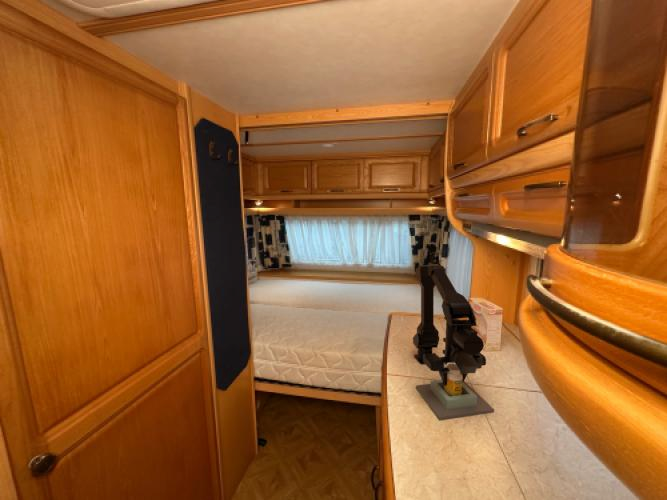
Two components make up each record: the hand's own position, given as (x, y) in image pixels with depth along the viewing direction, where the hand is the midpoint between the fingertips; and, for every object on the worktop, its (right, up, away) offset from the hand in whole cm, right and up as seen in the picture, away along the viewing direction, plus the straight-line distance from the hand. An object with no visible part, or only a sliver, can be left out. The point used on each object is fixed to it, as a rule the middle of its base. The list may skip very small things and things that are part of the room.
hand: (452, 383), depth 88 cm
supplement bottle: (0, -4, 0) cm, 4 cm away
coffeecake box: (+30, 0, +38) cm, 48 cm away
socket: (0, -5, +1) cm, 5 cm away
